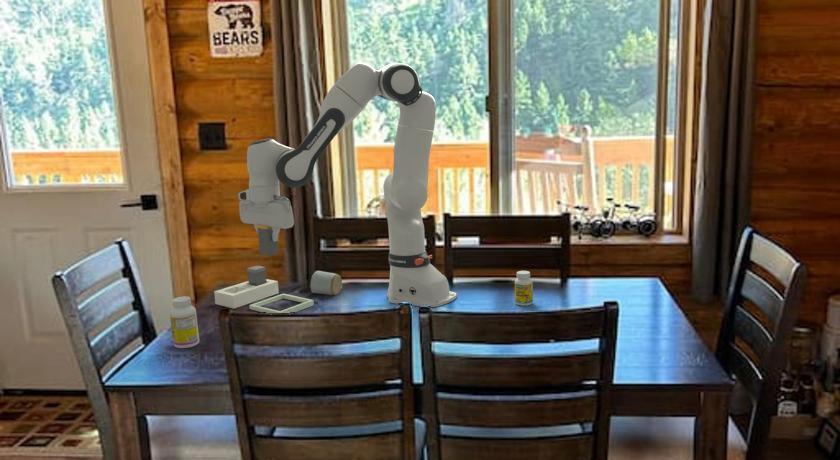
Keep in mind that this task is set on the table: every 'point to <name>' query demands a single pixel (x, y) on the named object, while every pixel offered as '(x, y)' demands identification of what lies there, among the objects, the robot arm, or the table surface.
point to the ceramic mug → (326, 283)
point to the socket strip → (245, 293)
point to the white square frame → (303, 305)
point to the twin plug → (256, 275)
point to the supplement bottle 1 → (184, 323)
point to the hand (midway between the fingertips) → (268, 240)
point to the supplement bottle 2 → (523, 288)
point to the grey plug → (266, 241)
